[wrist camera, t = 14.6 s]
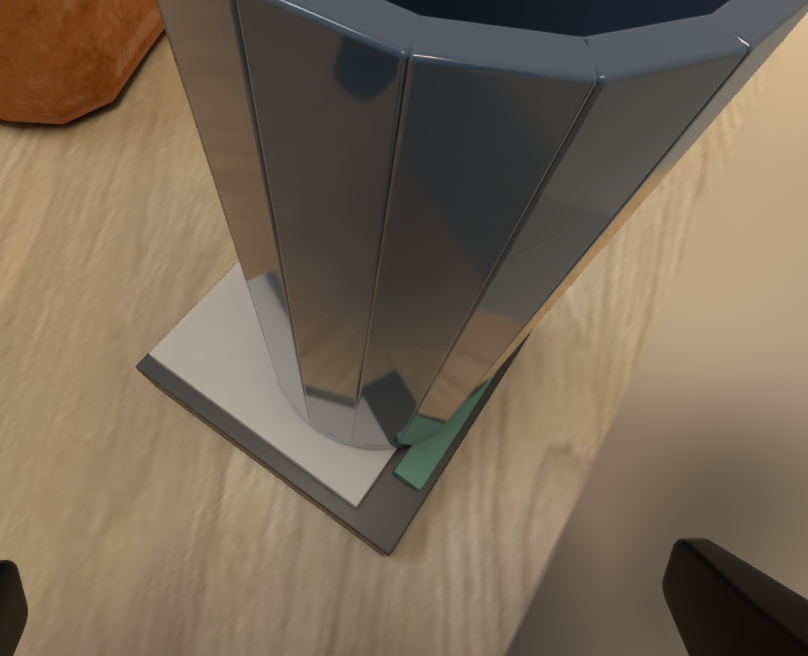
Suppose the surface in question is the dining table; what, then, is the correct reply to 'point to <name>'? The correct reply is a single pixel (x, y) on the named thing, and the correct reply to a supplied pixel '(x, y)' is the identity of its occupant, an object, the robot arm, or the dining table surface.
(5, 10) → the bread
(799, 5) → the tumbler
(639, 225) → the dining table surface
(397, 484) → the kitchen scale
